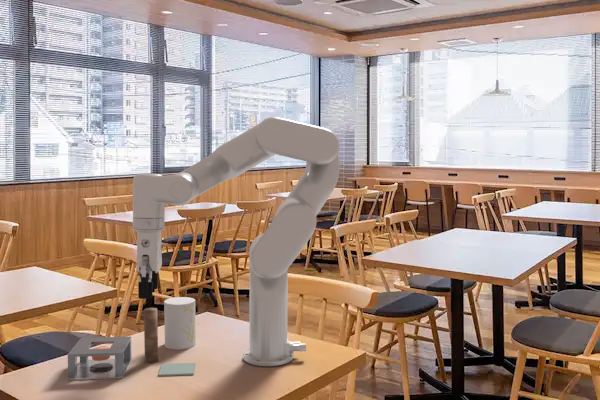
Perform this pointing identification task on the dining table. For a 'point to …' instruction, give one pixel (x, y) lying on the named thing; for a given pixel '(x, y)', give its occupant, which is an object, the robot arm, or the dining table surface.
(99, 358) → the breaker plunger
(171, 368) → the mat
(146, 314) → the brown wooden rod
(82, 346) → the guard cage
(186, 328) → the cup
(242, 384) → the dining table surface
